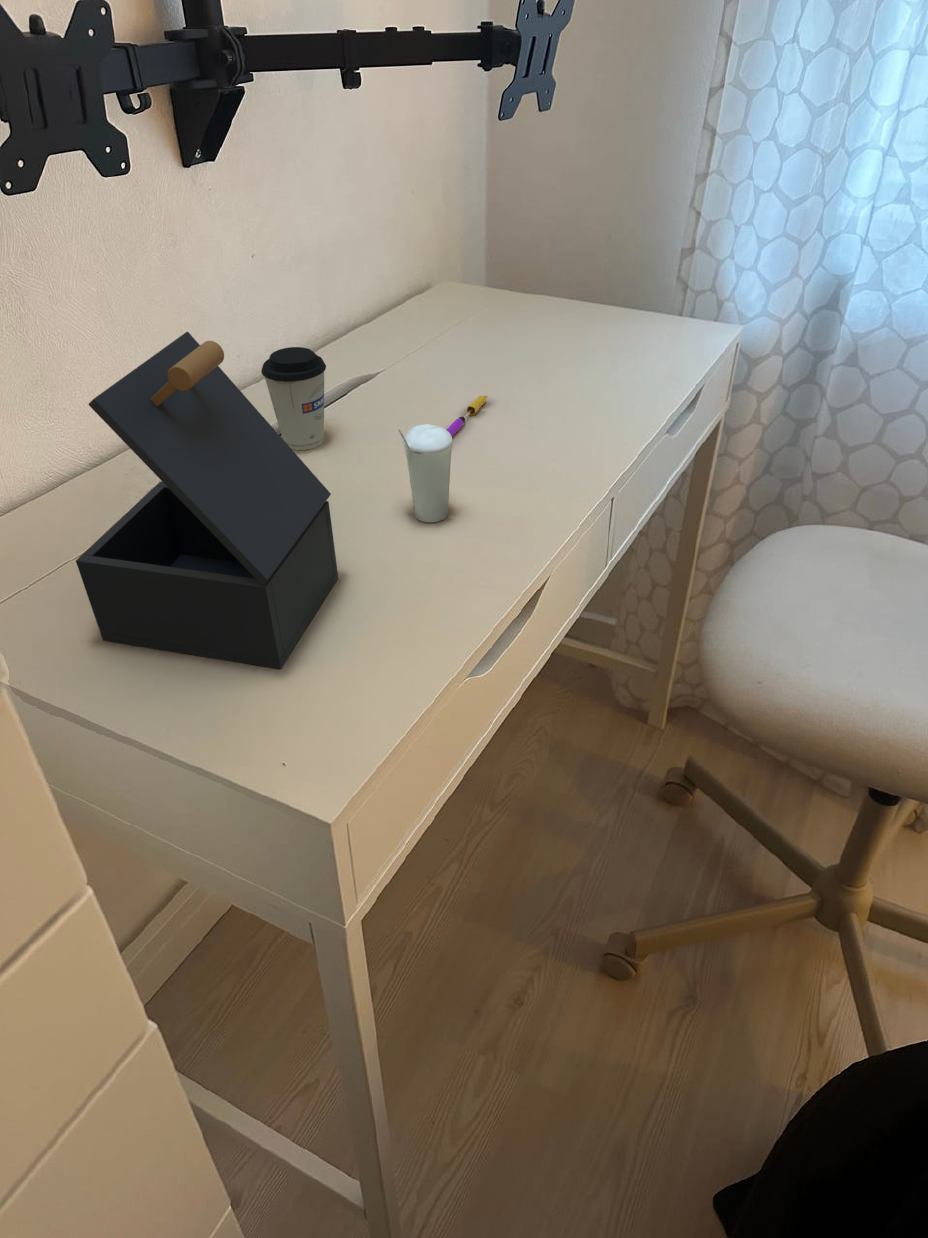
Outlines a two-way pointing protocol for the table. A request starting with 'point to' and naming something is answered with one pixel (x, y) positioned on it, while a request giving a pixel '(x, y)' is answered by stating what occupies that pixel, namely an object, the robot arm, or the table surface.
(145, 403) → the lid
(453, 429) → the purple yellow rod
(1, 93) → the robot arm
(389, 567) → the table surface
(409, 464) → the milkshake
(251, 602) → the black open box
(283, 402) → the coffee cup
